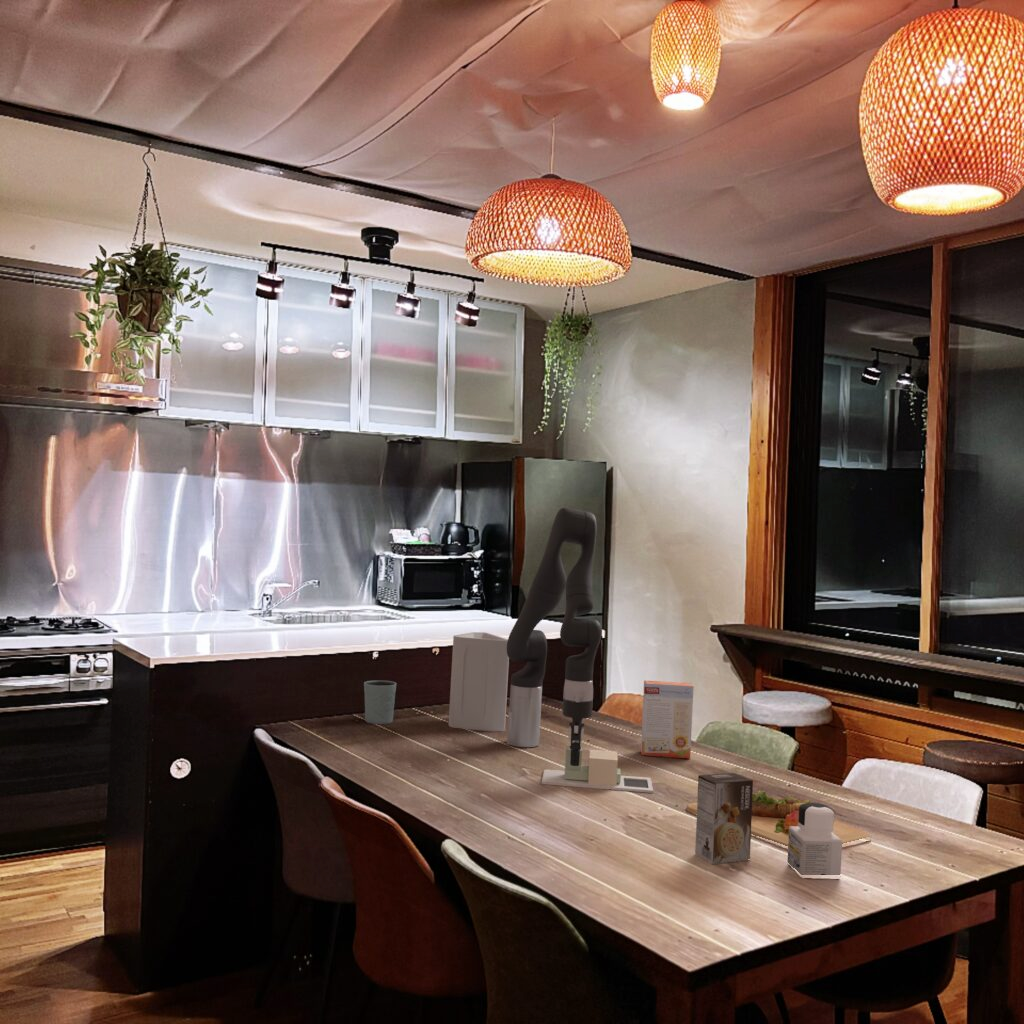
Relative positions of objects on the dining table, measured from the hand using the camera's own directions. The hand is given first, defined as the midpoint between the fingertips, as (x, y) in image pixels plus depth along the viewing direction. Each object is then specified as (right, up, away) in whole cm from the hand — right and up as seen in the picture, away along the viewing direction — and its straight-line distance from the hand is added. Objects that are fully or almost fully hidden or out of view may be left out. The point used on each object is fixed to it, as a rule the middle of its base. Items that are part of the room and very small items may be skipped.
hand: (575, 761), depth 244 cm
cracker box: (+28, -7, +33) cm, 43 cm away
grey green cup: (-58, -2, +57) cm, 81 cm away
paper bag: (-29, -4, +58) cm, 65 cm away
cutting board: (+43, -8, -27) cm, 52 cm away
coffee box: (+26, -6, -52) cm, 58 cm away
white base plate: (+6, -5, 0) cm, 8 cm away
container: (+42, -7, -57) cm, 72 cm away
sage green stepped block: (+4, -4, 0) cm, 6 cm away
